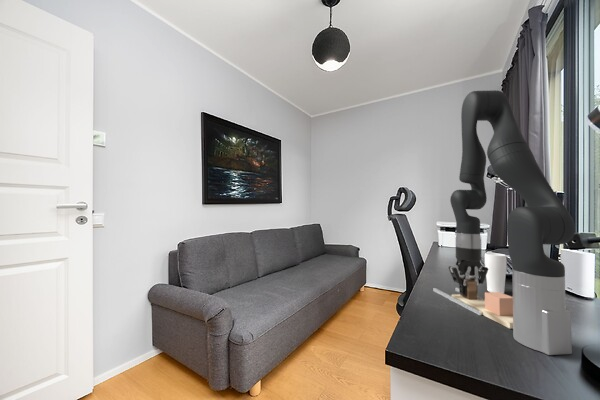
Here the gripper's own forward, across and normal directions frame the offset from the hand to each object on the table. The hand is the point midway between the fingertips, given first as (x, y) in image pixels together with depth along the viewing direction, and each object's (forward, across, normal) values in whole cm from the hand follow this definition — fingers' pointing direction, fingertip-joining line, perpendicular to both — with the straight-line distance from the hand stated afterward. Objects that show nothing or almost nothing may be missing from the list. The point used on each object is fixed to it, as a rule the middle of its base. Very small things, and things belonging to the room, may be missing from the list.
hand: (468, 295), depth 86 cm
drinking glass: (+3, +19, +9) cm, 21 cm away
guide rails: (+2, 0, +1) cm, 2 cm away
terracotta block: (+1, 0, -12) cm, 12 cm away
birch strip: (+2, 0, -8) cm, 8 cm away
